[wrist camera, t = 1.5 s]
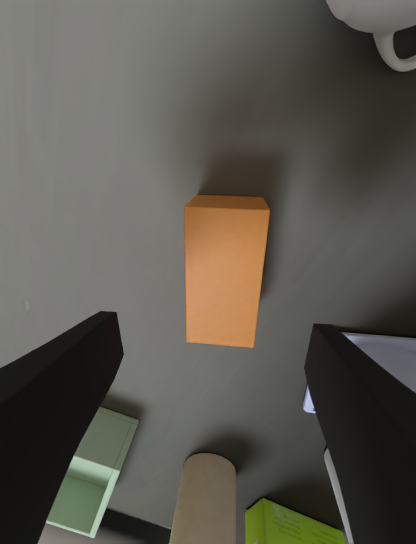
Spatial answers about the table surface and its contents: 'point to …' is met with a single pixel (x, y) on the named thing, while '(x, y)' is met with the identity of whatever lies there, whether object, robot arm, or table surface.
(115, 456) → the bin
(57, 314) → the table surface
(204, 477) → the candle
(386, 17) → the teacup
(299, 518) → the box
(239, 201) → the orange rectangular block
